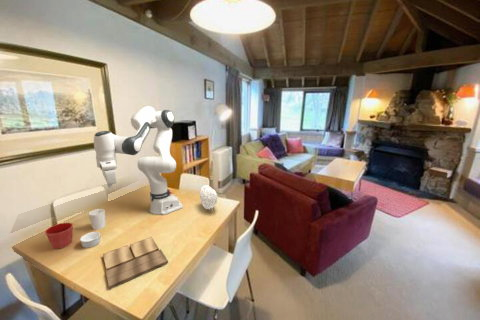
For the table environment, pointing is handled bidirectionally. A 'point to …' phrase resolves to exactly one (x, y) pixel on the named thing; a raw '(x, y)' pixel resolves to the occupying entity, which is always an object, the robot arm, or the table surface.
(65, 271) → the table surface
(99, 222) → the white cup
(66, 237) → the flower pot
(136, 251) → the plank
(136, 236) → the table surface
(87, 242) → the ramekin
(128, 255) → the plank
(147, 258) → the floor strip
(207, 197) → the white lumpy rounded piece
